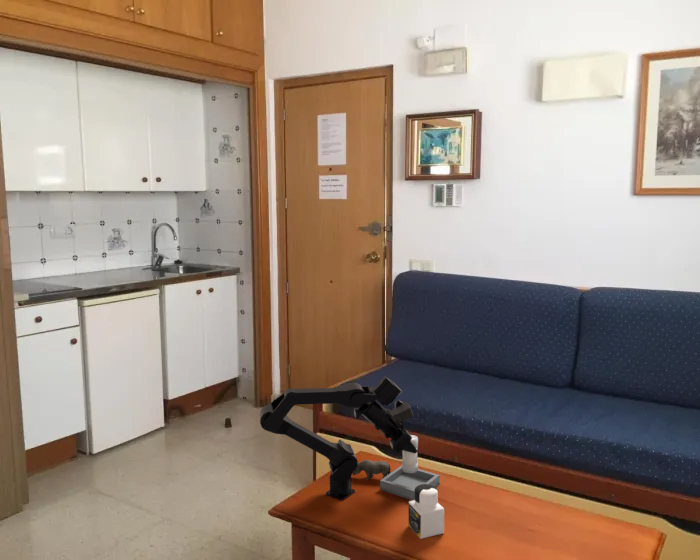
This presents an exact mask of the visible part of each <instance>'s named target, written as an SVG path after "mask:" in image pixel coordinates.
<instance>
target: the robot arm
mask: <svg viewBox="0 0 700 560" xmlns="http://www.w3.org/2000/svg"><path fill="white" fill-rule="evenodd" d="M402 393H403V390H402V389H401V388H400V387H399V386H398V385H397V384H396V383H395V382H394V381H393V380H391V379H389V378H388V377H387V376H386V375H385V376H383V377H382V378H381V380H380V381H379V382H378V383H377V385H376V386H374V387H372V386H369V385H368V386H367V385H361V384H359V383H357V382H349V383H344V384H341V385H338V386H335V387H317V388H315V387H313V388H293V387H289V388H287V389H286V390H285V391H284V392H282V394H279V396H277V397H276V398H275V399H273V400H272V401H271V402H270V403H269V404H265V405H264V406H263V407H261V409H260V411H259V422H260V423H259V424H260V426H261V428H262V430H264V431H266V432H270V433H272V434H276V435H282V436H287V437H289V438H291V439H292V440H294V441H296V442H297V443H300V444H302V445H303V446H305V447H307V448H309V449H311V450H312V451H314V452H316V453H318V454H320V455H321V456H323V457H325V458H326V459H327V460H329V461H328V466H329V468H330V475H329V490H327V491H326V492H325V495H326V496H328V497H332V498H334V499H338V500H341V501H344V500H345V499H347V498H349V497H350V496H351V495H353V494H354V493H356V490H355V489H354V488H352V476H353V473H352V472H353V471H354V470H355V469H356V468H357V465H358V463H359V460H358V459H357V456H356V454H355V450H354V449H353V448H352V444H349V443H346V442H344V441H343V440H342V439H338V441H337V442H331V441H329V440H328V439H326V438H324V437H322V436H321V435H318V434H317V433H315V432H313V431H312V430H310V429H308V428H306V427H304V425H303V426H302V425H301V424H299V423H297V422H295V421H294V420H292V419H290V417H289V416H288V413H289V412H290V411H291V410H292V408H293V407H295V406H296V405H297V406H298V405H330V404H335V405H338V406H339V405H340V406H343V407H345V408H353V416H354V417H355V420H358V419H359V418H360V417H361V416H363V417H364V418H365V419H366V420H367V421H368V422H370V424H372V425H373V426H374V428H375V430H377V431H380V432H381V433H382V434H383V435H384V438H386V439H387V440H388V439H390V440H389V445H390V447H391V449H392V450H393V451H394V452H395V453H396V454H399V453H401V452H403V451H407V452H411V453H417V454H418V448H417V449H416V448H415V446H414V445H413V444H412V442H411V439H412V437H411V435H412V434H411V433H410V432H409V430H406V429H405V428H404V423H403V422H405V421H407V420H409V419H413V417H414V416H415V415H414V412H413V410H412V408H411V406H410V404H409V402H406V401H402V400H400V399H397V398H398V397H399V396H400V394H402ZM396 399H397V400H396ZM395 400H396V401H395ZM392 403H394V407H393V408H392V410H390V409H388V408H386V407H387V406H390V405H391V404H392ZM383 406H386V407H383Z"/></svg>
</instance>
